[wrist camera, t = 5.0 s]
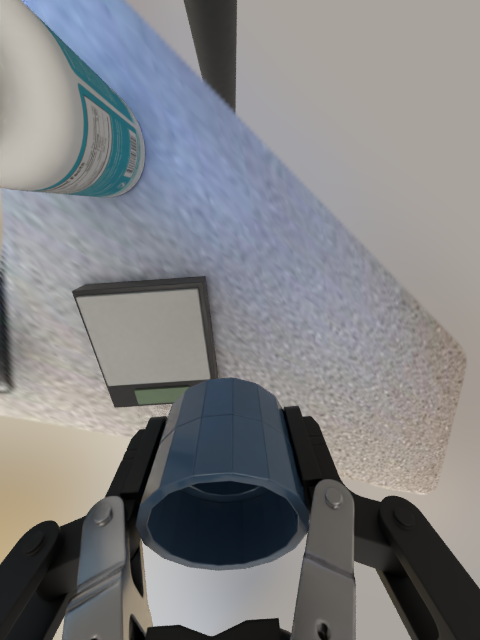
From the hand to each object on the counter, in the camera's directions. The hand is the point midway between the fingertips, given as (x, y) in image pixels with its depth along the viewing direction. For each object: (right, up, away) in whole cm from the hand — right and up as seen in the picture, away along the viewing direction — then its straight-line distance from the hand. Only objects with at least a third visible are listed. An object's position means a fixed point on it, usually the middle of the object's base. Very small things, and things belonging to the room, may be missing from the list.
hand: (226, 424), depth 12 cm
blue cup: (0, 0, +1) cm, 1 cm away
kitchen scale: (-8, +3, +14) cm, 17 cm away
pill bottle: (-10, +19, +7) cm, 23 cm away
